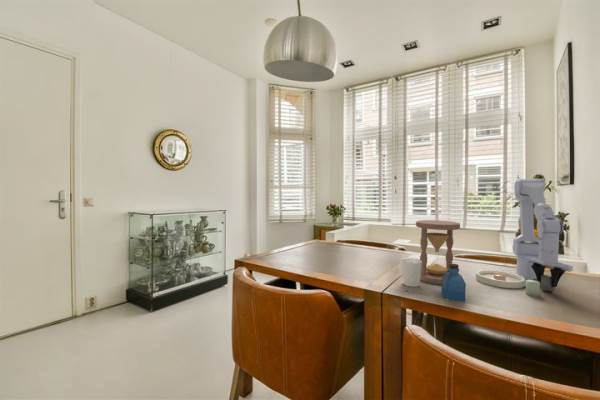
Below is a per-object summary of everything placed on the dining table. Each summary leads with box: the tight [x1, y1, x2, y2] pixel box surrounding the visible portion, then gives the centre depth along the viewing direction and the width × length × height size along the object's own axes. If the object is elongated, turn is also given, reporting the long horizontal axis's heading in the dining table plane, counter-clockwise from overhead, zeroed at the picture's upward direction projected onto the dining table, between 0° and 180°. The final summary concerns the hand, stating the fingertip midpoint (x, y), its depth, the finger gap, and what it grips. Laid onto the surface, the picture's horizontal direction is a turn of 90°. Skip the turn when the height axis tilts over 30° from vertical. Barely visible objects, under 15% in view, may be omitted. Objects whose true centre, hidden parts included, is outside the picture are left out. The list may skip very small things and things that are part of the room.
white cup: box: [401, 257, 422, 288], centre depth 121 cm, size 8×8×10 cm
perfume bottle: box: [441, 263, 467, 302], centre depth 107 cm, size 6×6×12 cm
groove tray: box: [475, 269, 526, 289], centre depth 125 cm, size 17×17×2 cm
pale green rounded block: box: [525, 279, 541, 297], centre depth 110 cm, size 4×4×5 cm
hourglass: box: [415, 219, 461, 286], centre depth 129 cm, size 18×18×25 cm
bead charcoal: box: [539, 274, 555, 292], centre depth 113 cm, size 4×4×5 cm
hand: (547, 284), depth 113 cm, fingers closed on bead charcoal, 4 cm apart
